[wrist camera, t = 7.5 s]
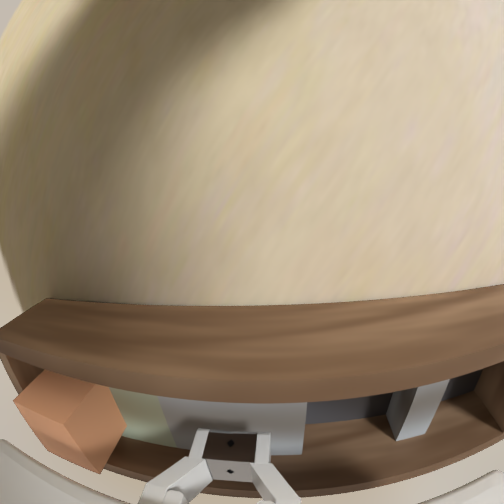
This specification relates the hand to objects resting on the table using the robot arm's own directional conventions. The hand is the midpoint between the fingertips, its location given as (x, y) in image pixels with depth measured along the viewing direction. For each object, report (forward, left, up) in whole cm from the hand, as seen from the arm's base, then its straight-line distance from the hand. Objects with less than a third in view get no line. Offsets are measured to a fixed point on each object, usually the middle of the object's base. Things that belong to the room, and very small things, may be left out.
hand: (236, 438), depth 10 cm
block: (+1, -9, -2) cm, 9 cm away
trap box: (0, +2, -5) cm, 5 cm away
